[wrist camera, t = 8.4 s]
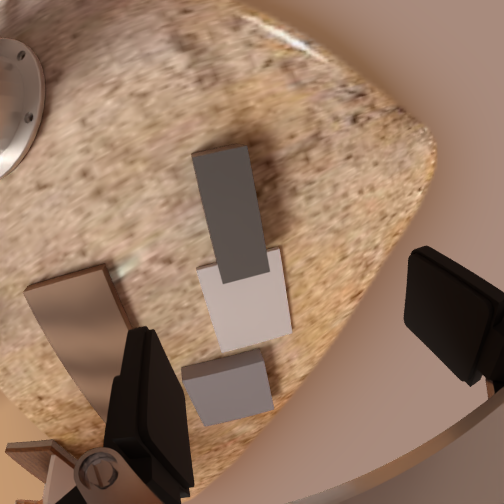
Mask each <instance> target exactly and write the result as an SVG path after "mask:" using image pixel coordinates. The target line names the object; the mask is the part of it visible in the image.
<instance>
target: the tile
mask: <svg viewBox="0 0 504 504" xmlns="http://www.w3.org/2000/svg"><path fill="white" fill-rule="evenodd" d="M181 372H182V382H183V384H184V386H185V388H186V390H187V392H188V394H189V397H190V399H191V401H192V403H193V405H194V407H195V409H196V411H197V413H198V415H199V417H200V419H201V421H202V422H203V424H204V426H210V425H215V424H219V423H224V422H228V421H232V420H236V419H240V418H244V417H248V416H252V415H256V414H260V413H263V412H267V411H270V410H274V406H273V401H272V396H271V392H270V387H269V382H268V377H267V373H266V368H265V363H264V359H263V357H262V354H261V352H260V349H259V348H258V349H255V350H251V351H247V352H244V353H240V354H236V355H232V356H228V357H224V358H220V359H216V360H211V361H207V362H203V363H199V364H194V365H190V366H185V367H181Z"/></svg>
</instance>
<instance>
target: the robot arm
mask: <svg viewBox="0 0 504 504" xmlns="http://www.w3.org/2000/svg"><path fill="white" fill-rule="evenodd" d="M44 102H45V78H44V74H43V69H42V66H41V63H40V61H39V59H38V57H37V55H36V54H35V53H34V52H33V50H32V49H31V48H30V47H28V46H27V45H25V44H24V43H22V42H20V41H17V40H15V39H10V38H0V179H2V178H4V177H5V176H6V175H8V174H9V173H10V172H12V171H13V170H14V168H15V167H16V166H17V165H18V164H19V163H20V162H21V161H22V159H23V158H24V156H25V155H26V153H27V152H28V151H29V149H30V147H31V145H32V143H33V141H34V139H35V137H36V134H37V131H38V128H39V126H40V123H41V118H42V114H43V110H44ZM32 116H33V120H31V117H32ZM404 323H405V325H406V326H407V327H408V328H409V329H410V330H411V331H412V332H413V333H414V334H415V335H416V336H417V337H418V338H419V339H420V340H421V341H422V342H423V343H424V344H425V345H426V346H427V347H428V348H429V349H430V350H431V351H432V352H433V353H434V354H435V355H436V356H437V357H438V358H439V359H440V360H441V361H442V362H443V363H444V364H445V365H446V366H447V367H448V368H449V369H450V370H451V371H452V372H453V373H454V374H455V375H456V376H457V377H458V378H459V379H460V380H461V381H465V382H466V383H467V384H468V385H469V386H470V387H471V386H472V385H474V384H475V383H476V382H478V381H479V380H480V379H481V377H482V375H484V376H485V377H486V387H487V394H488V400H487V401H486V402H485V403H483V404H482V405H480V406H479V407H478V408H476V409H475V410H474V411H472V412H471V413H470V414H468V415H467V416H466V417H464V418H463V419H461V420H460V421H458V422H457V423H456V424H454V425H453V426H451V427H450V428H448V429H447V430H445V431H444V432H442V433H440V434H439V435H437V436H436V437H434V438H433V439H431V440H429V441H428V442H426V443H424V444H423V445H421V446H419V447H417V448H416V449H414V450H412V451H410V452H409V453H407V454H405V455H403V456H401V457H399V458H397V459H396V460H393V461H392V462H390V463H388V464H386V465H384V466H382V467H380V468H377V469H375V470H373V471H371V472H369V473H367V474H365V475H362V476H360V477H358V478H356V479H353V480H351V481H348V482H346V483H344V484H341V485H339V486H336V487H334V488H331V489H328V490H326V491H323V492H320V493H317V494H315V495H311V496H309V497H306V498H303V499H299V500H296V501H293V502H290V503H286V504H504V292H502V291H501V290H499V289H498V288H496V287H495V286H493V285H492V284H490V283H489V282H487V281H485V280H484V279H482V278H481V277H479V276H478V275H476V274H474V273H473V272H471V271H470V270H468V269H466V268H465V267H463V266H461V265H460V264H458V263H456V262H455V261H453V260H451V259H449V258H448V257H446V256H445V255H443V254H441V253H439V252H438V251H436V250H434V249H433V248H431V247H429V246H423V247H420V248H417V249H414V250H413V251H412V253H411V255H410V256H409V258H408V274H407V287H406V299H405V309H404ZM74 481H75V483H76V486H75V487H74V488H73V489H71V490H70V491H69V492H68V493H67V494H66V495H64V496H63V497H62V498H61V499H60V500H59V501H57V502H56V503H55V504H181V498H185V497H190V492H189V488H191V487H194V477H193V469H192V461H191V453H190V444H189V435H188V425H187V415H186V403H185V396H184V392H183V389H182V387H181V385H180V383H179V381H178V379H177V377H176V375H175V373H174V371H173V369H172V367H171V364H170V362H169V360H168V358H167V356H166V354H165V352H164V349H163V347H162V345H161V343H160V340H159V338H158V336H157V334H156V332H155V330H154V329H152V330H149V329H148V328H147V327H146V326H144V327H139V328H135V329H131V330H128V333H127V338H126V343H125V349H124V354H123V360H122V365H121V371H120V375H117V376H115V377H114V379H113V382H112V388H111V394H110V400H109V407H108V414H107V421H106V428H105V436H104V445H103V447H99V448H93V449H91V450H89V451H87V452H85V453H84V454H83V455H82V456H81V457H80V458H79V459H78V461H77V462H76V464H75V468H74Z"/></svg>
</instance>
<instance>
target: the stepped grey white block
mask: <svg viewBox="0 0 504 504" xmlns="http://www.w3.org/2000/svg"><path fill="white" fill-rule="evenodd" d="M191 157H192V161H193V166H194V170H195V174H196V179H197V183H198V188H199V192H200V196H201V200H202V205H203V209H204V213H205V217H206V221H207V225H208V230H209V234H210V238H211V242H212V246H213V250H214V254H215V258H216V262H217V263H213V264H209V265H205V266H201V267H197V268H196V271H197V274H198V278H199V281H200V284H201V288H202V291H203V294H204V298H205V301H206V304H207V308H208V311H209V314H210V317H211V321H212V324H213V327H214V330H215V333H216V336H217V339H218V342H219V346H220V349H221V352H222V353H224V352H228V351H232V350H235V349H239V348H243V347H246V346H250V345H254V344H257V343H261V342H264V341H268V340H271V339H275V338H278V337H281V336H285V335H288V334H291V333H292V328H291V321H290V314H289V307H288V300H287V294H286V287H285V280H284V274H283V267H282V261H281V255H280V249H279V248H278V247H275V248H271V249H267V250H266V245H265V240H264V234H263V229H262V223H261V218H260V212H259V207H258V201H257V196H256V190H255V185H254V180H253V174H252V169H251V164H250V158H249V153H248V148H247V146H246V145H241V144H233V145H228V146H223V147H219V148H214V149H210V150H205V151H201V152H197V153H193V154H191Z"/></svg>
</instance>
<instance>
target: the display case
mask: <svg viewBox="0 0 504 504" xmlns="http://www.w3.org/2000/svg"><path fill="white" fill-rule="evenodd" d="M5 453H6V454H7V455H9V456H10V457H11V458H12V459H13V460H15V461H16V462H17V463H18V464H20V465H21V466H22V467H23V468H25V469H26V470H27V471H28V472H30V473H31V474H33V475H34V476H35V477H37V478H38V479H39V480H41V481H42V482H43V483H45V486H44V493H43V499H42V500H40V501H31V500H16V501H15V504H55V503H56V502H57V501H59V500H60V499H61V498H62V497H63V496H64V495H66V494H67V493H68V492H69V491H70V490H71V489H73V488H74V487H75V486H76V483H75V481H74V468H75V464H76V462H77V461H78V460H76V459H75V458H74V457H73V456H71V455H70V454H69V453H68V452H67V451H65V450H64V449H63V448H62V447H61V446H60V445H58V444H57V443H56V442H55V441H54V440H53V439H51V440H42V441H31V442H16V443H8V444H7V447H6V451H5Z"/></svg>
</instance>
